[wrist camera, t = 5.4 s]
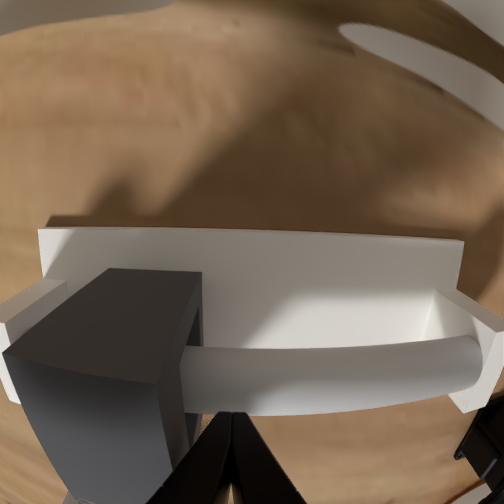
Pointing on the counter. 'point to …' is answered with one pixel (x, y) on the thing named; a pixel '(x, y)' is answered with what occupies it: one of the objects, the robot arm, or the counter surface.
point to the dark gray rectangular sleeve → (112, 382)
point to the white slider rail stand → (293, 315)
